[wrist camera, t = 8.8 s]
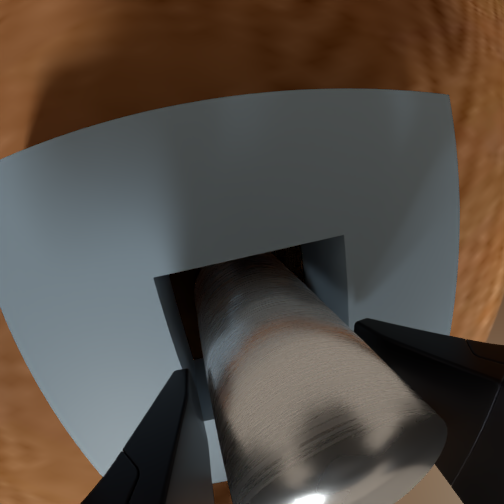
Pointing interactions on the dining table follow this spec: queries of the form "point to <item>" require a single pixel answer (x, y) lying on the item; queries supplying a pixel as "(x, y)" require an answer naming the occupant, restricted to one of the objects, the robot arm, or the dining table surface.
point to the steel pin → (304, 395)
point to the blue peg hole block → (218, 235)
